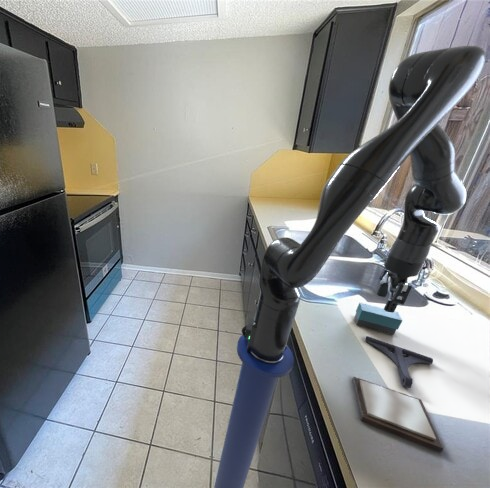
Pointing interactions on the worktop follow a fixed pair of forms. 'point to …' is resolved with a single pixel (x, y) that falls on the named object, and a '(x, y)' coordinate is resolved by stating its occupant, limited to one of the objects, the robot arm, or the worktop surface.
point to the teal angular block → (377, 319)
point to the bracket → (400, 359)
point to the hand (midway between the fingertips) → (384, 303)
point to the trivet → (395, 413)
